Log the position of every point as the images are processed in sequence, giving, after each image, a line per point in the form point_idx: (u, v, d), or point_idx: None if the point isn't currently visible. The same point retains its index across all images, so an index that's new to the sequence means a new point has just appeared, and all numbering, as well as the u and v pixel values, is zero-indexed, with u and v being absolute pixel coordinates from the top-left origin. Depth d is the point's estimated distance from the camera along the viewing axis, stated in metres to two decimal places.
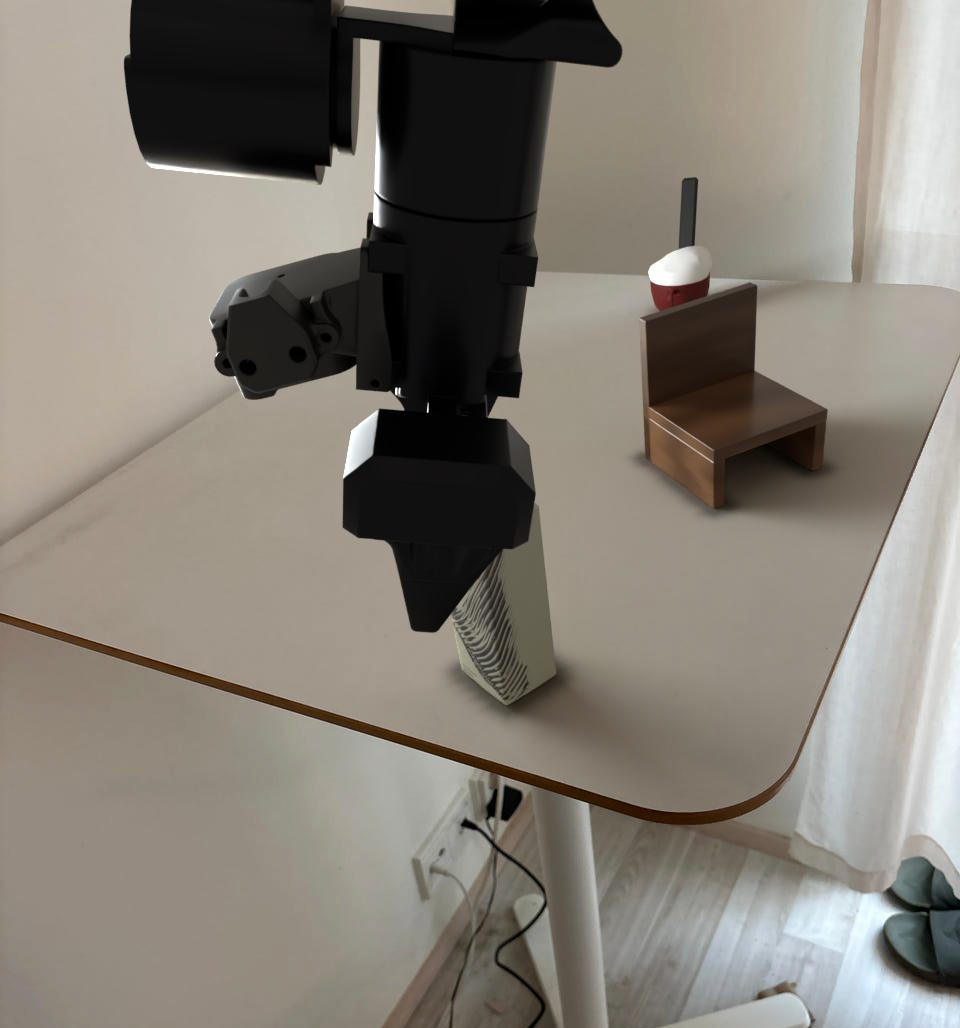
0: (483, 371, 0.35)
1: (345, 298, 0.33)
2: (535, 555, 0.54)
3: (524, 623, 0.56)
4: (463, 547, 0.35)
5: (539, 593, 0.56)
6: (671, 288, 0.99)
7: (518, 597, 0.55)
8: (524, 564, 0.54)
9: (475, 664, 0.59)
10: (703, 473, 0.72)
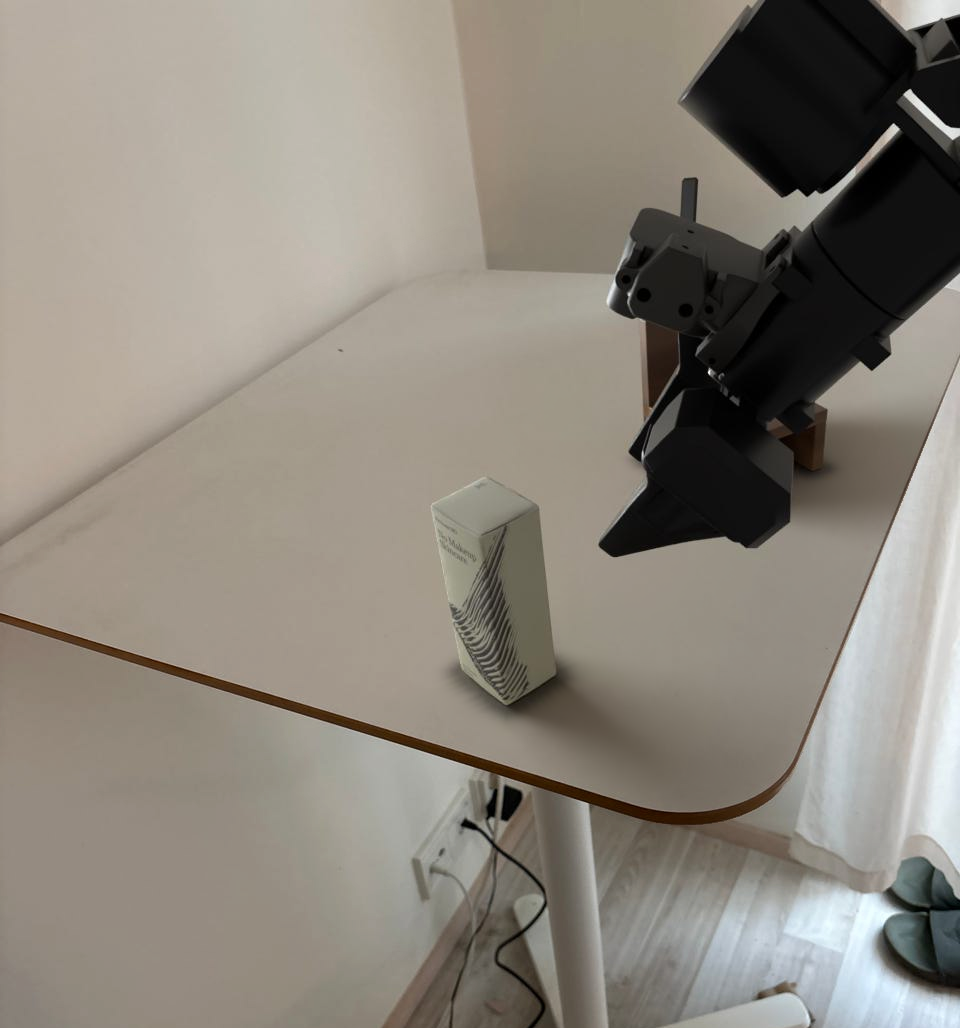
0: (789, 402, 0.41)
1: (739, 289, 0.39)
2: (535, 555, 0.54)
3: (524, 623, 0.56)
4: (692, 517, 0.42)
5: (539, 593, 0.56)
6: None
7: (518, 598, 0.55)
8: (524, 564, 0.54)
9: (475, 664, 0.59)
10: None
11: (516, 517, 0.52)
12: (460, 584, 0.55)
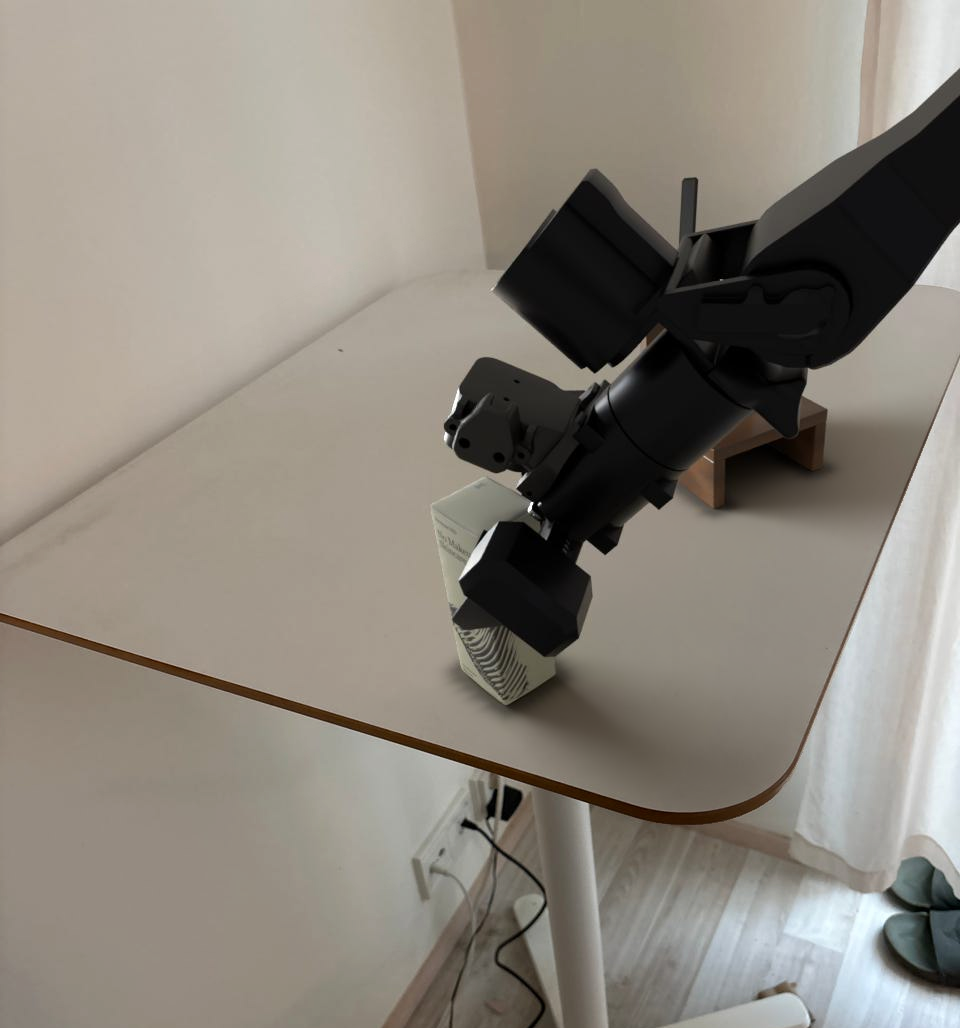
0: (596, 529, 0.49)
1: (547, 438, 0.47)
2: None
3: None
4: None
5: None
6: None
7: None
8: None
9: (475, 664, 0.59)
10: (703, 473, 0.72)
11: (516, 518, 0.52)
12: None
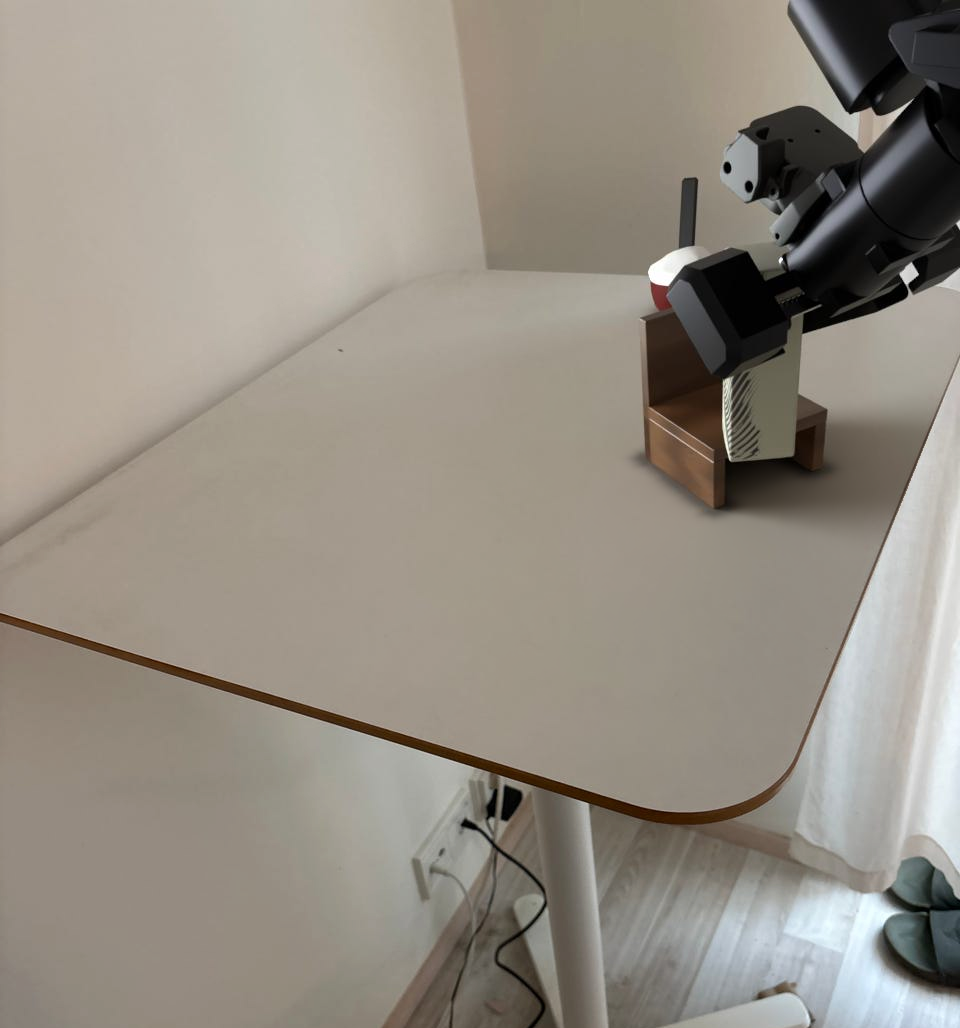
0: (825, 287, 0.52)
1: (805, 181, 0.50)
2: None
3: (765, 384, 0.60)
4: None
5: (788, 360, 0.59)
6: None
7: None
8: None
9: (725, 419, 0.65)
10: (703, 473, 0.72)
11: (777, 269, 0.56)
12: None
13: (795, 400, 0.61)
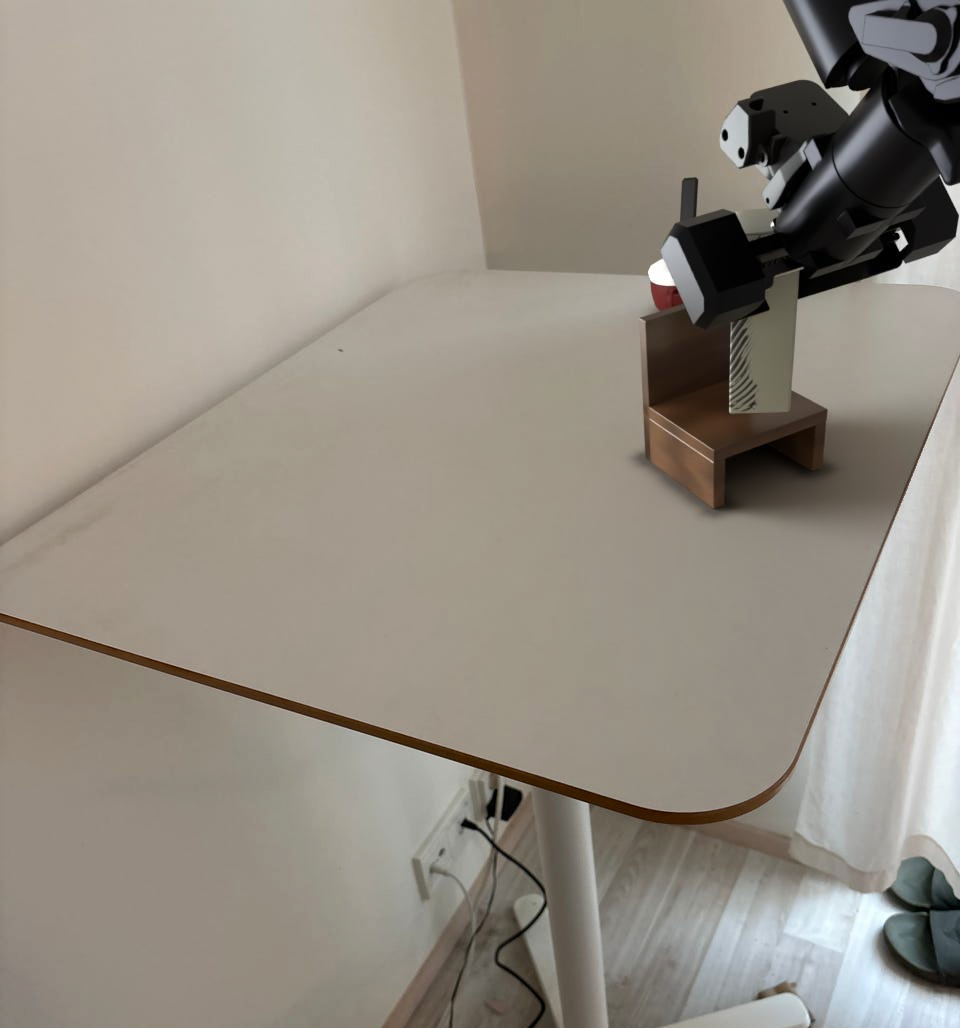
0: (805, 249, 0.56)
1: (791, 150, 0.55)
2: (786, 278, 0.62)
3: (762, 341, 0.65)
4: None
5: (784, 319, 0.63)
6: (671, 288, 0.99)
7: None
8: None
9: None
10: (703, 473, 0.72)
11: (774, 233, 0.60)
12: None
13: (790, 358, 0.65)
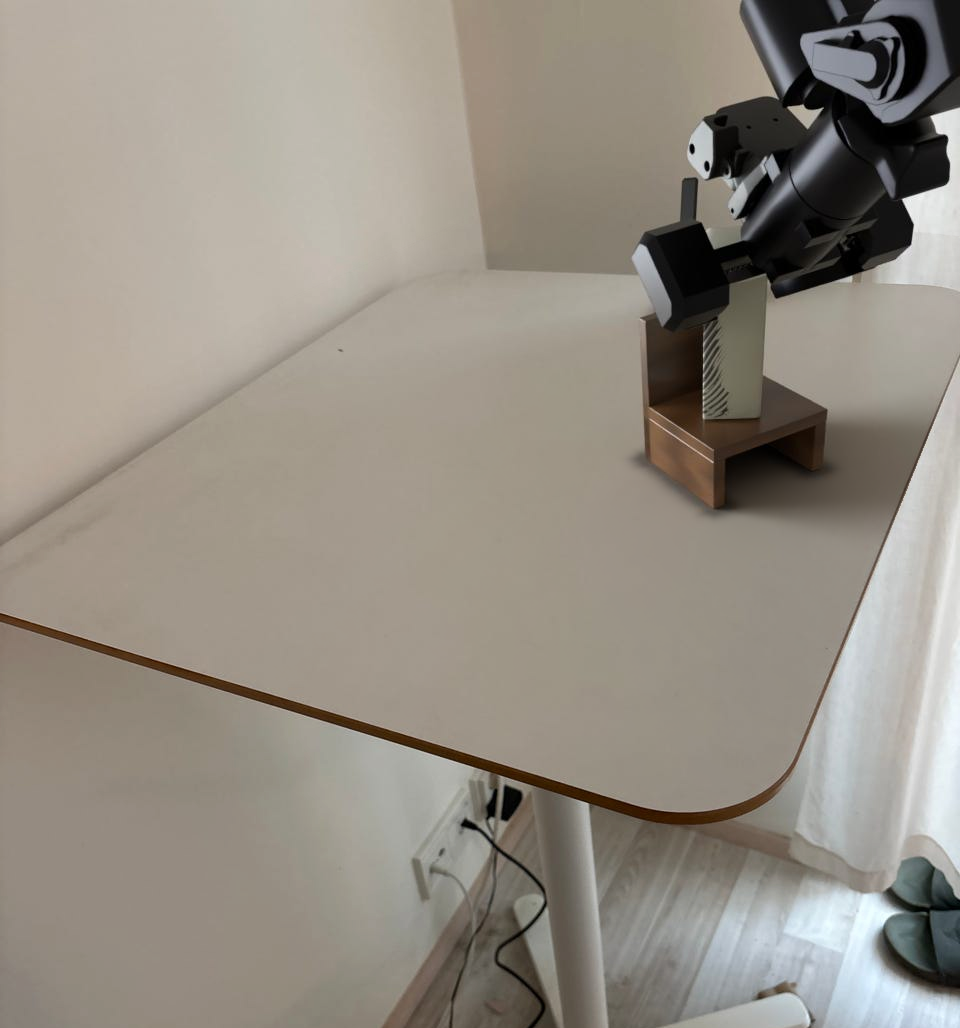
0: (767, 257, 0.60)
1: (754, 164, 0.58)
2: (754, 293, 0.65)
3: (732, 351, 0.68)
4: None
5: (753, 331, 0.67)
6: None
7: (731, 324, 0.67)
8: (742, 296, 0.66)
9: None
10: (703, 473, 0.72)
11: None
12: None
13: (759, 367, 0.69)
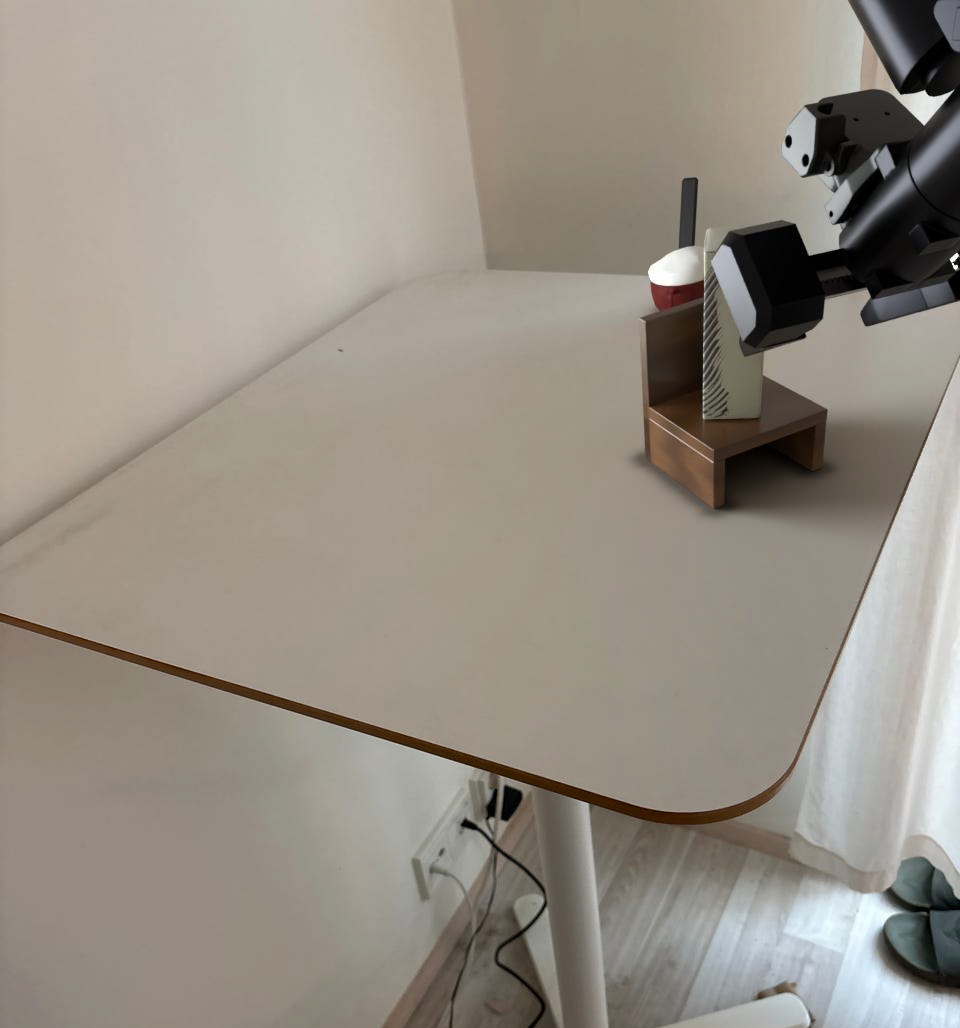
0: (870, 267, 0.51)
1: (861, 159, 0.50)
2: None
3: (732, 351, 0.68)
4: None
5: None
6: (671, 288, 0.99)
7: (731, 325, 0.67)
8: None
9: None
10: (703, 473, 0.72)
11: None
12: None
13: (759, 367, 0.69)
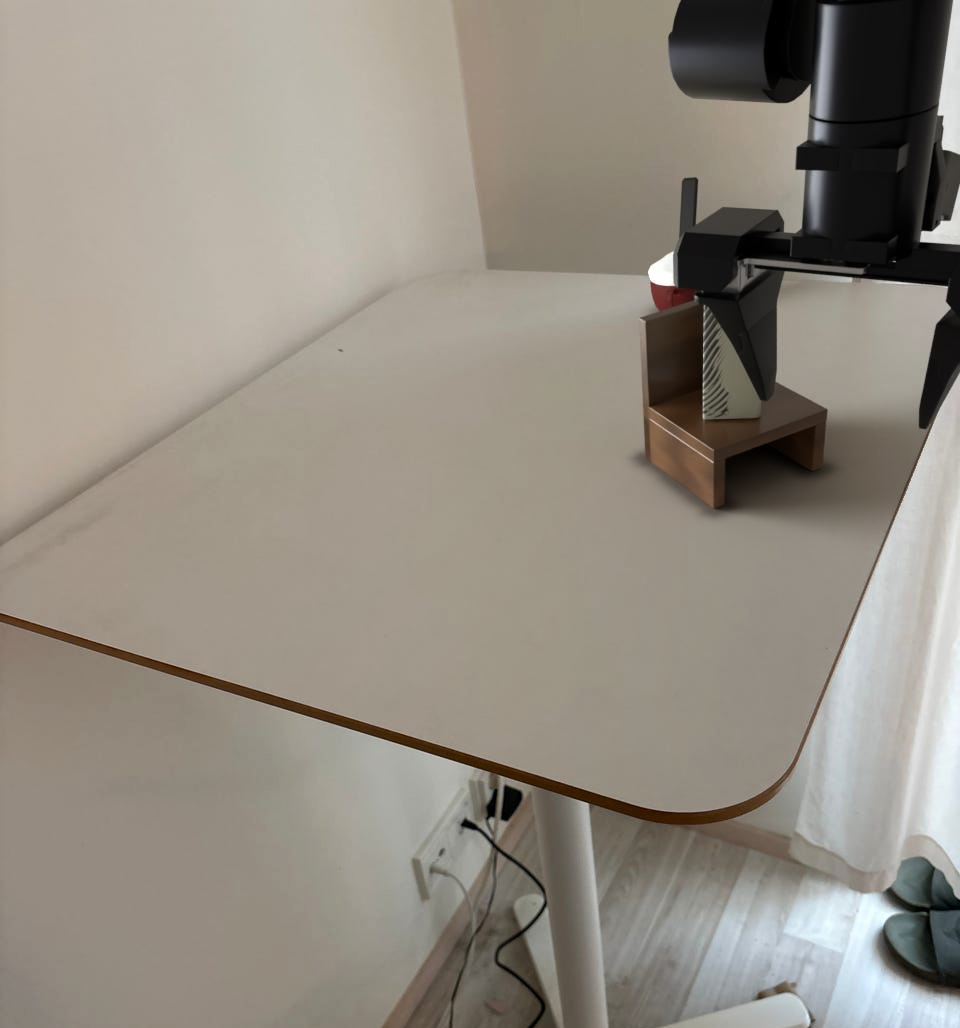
0: (802, 227, 0.49)
1: None
2: None
3: (732, 351, 0.68)
4: None
5: None
6: (671, 288, 0.99)
7: None
8: None
9: None
10: (703, 473, 0.72)
11: None
12: None
13: None
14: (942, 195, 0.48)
